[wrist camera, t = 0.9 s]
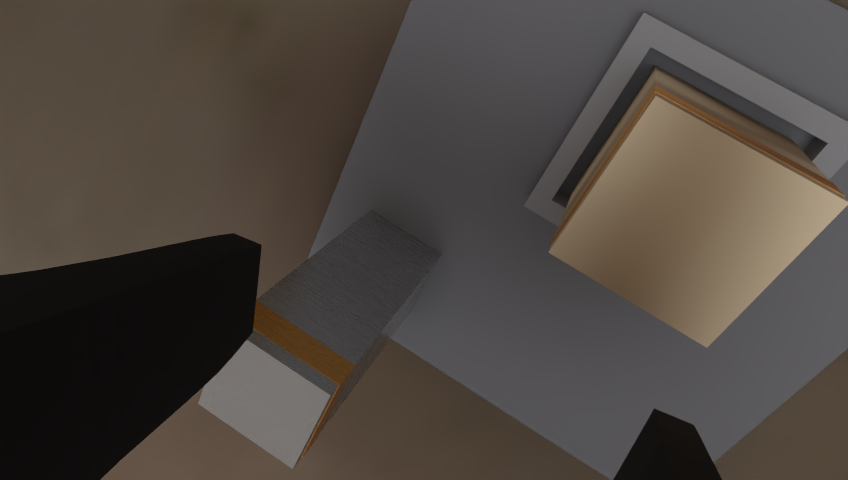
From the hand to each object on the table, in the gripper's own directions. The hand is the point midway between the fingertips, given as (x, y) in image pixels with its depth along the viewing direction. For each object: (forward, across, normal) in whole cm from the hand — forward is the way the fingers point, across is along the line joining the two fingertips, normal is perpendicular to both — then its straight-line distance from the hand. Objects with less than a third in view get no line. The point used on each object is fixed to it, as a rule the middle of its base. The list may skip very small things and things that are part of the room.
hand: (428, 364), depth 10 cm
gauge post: (+9, +4, +4) cm, 11 cm away
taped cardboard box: (+9, -4, -2) cm, 10 cm away
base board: (+10, -2, 0) cm, 10 cm away
